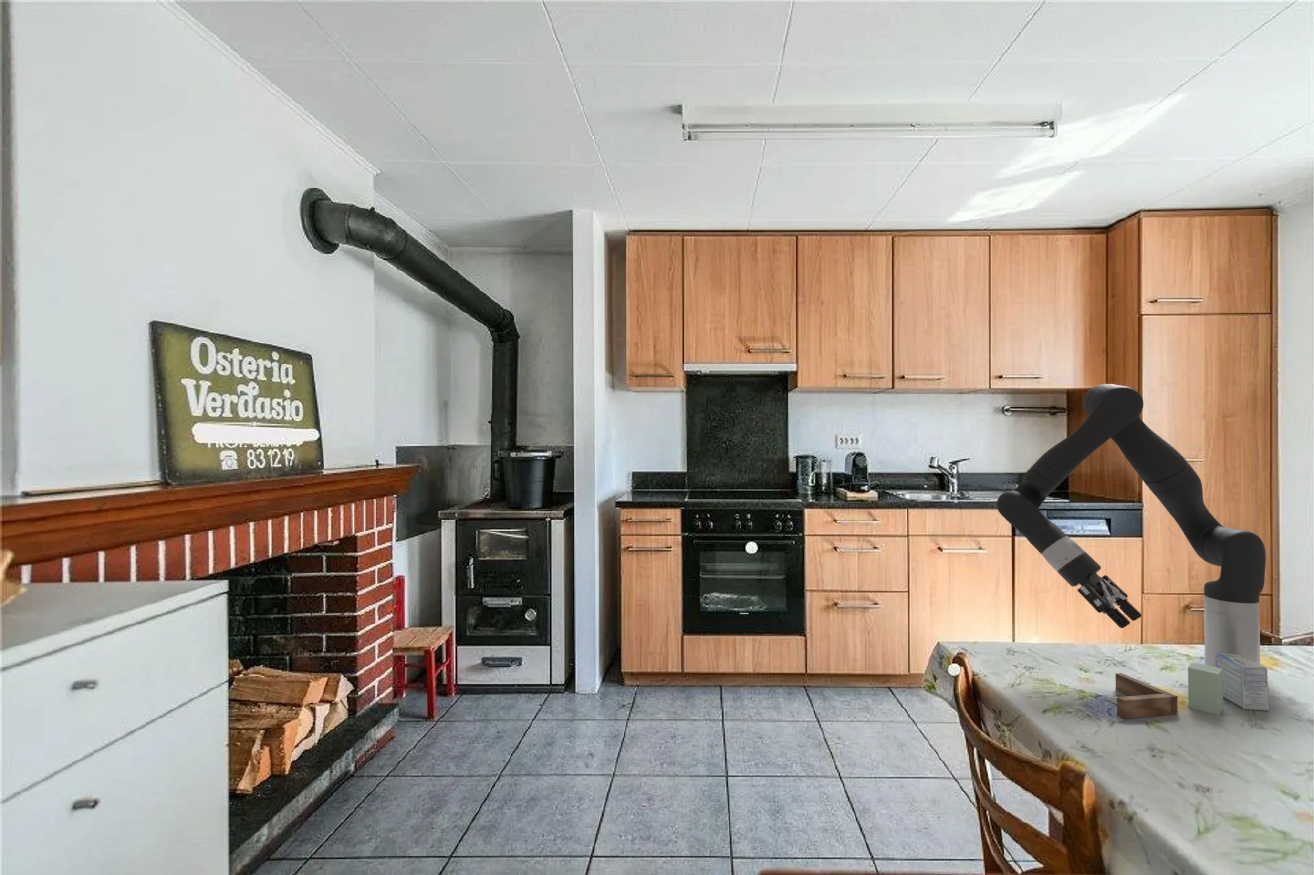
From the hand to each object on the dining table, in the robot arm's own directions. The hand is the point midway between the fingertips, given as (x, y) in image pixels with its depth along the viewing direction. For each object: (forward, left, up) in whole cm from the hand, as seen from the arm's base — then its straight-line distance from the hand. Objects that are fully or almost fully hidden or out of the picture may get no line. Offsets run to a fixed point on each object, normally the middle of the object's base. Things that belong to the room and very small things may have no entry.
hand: (1132, 622), depth 130 cm
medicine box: (-9, +16, -15) cm, 23 cm away
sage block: (0, +12, -14) cm, 19 cm away
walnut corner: (+10, +1, -14) cm, 18 cm away
